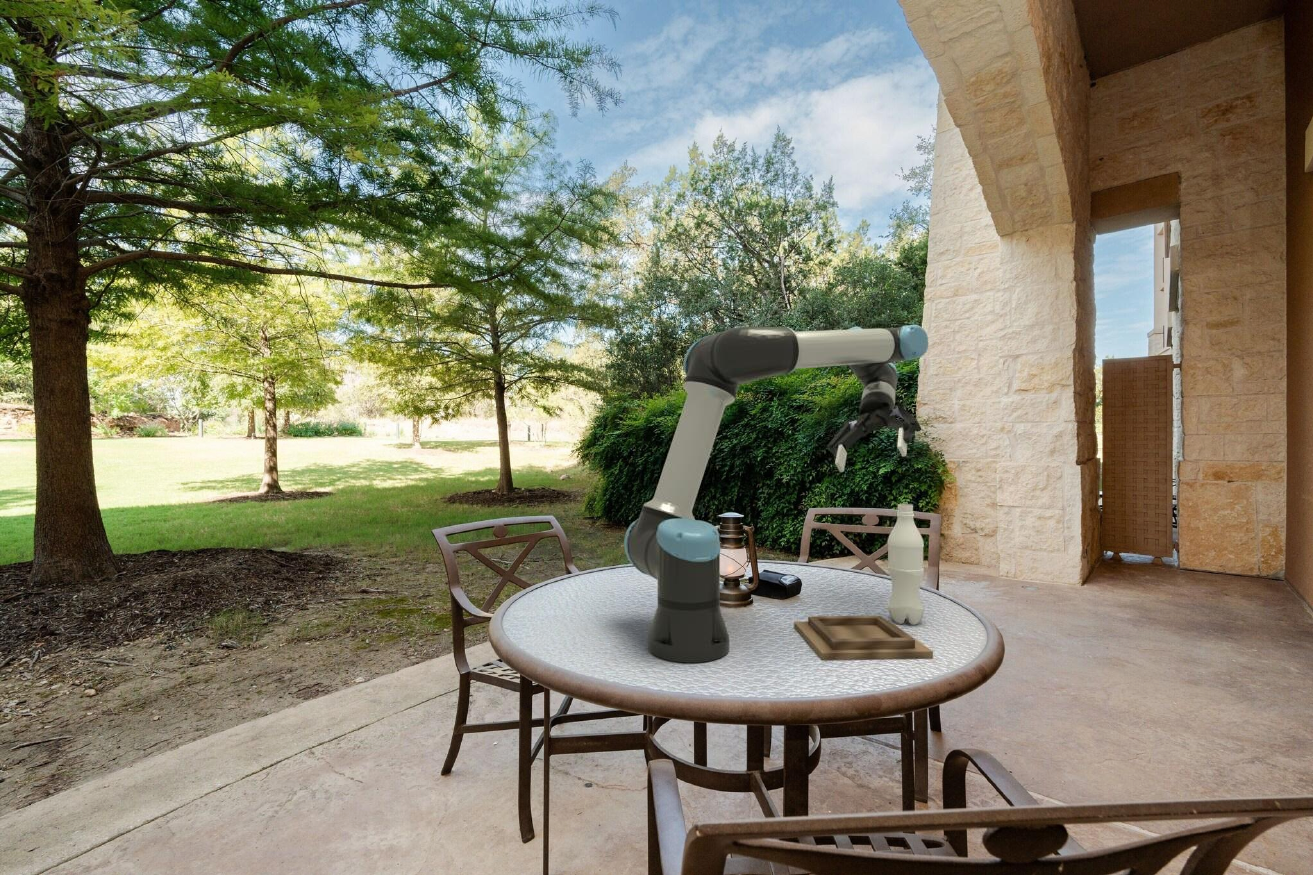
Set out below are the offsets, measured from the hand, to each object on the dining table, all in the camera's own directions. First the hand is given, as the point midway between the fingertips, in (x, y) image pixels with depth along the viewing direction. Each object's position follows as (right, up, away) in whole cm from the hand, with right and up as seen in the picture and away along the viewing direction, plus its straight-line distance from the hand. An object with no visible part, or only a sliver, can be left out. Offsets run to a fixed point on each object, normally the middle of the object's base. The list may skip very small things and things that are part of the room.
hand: (869, 459), depth 124 cm
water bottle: (+8, -35, +1) cm, 36 cm away
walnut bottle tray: (-6, -35, -11) cm, 37 cm away
